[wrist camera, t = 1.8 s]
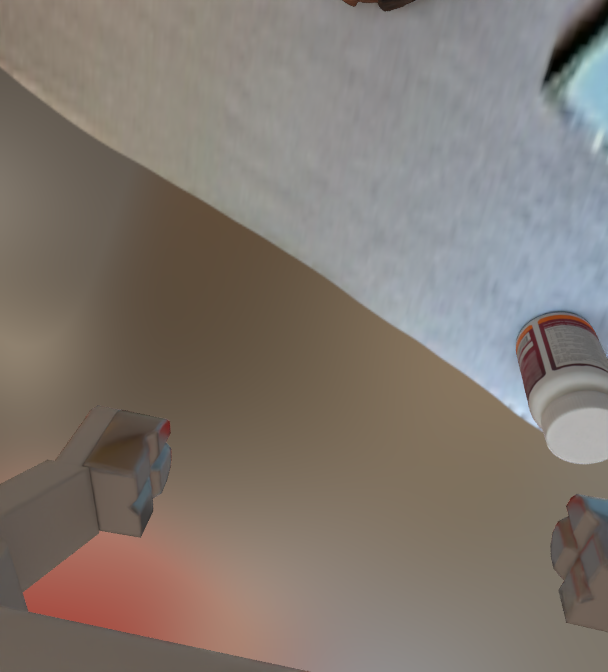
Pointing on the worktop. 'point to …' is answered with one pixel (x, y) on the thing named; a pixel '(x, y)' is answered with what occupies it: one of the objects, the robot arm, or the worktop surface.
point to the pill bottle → (566, 385)
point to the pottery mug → (382, 3)
